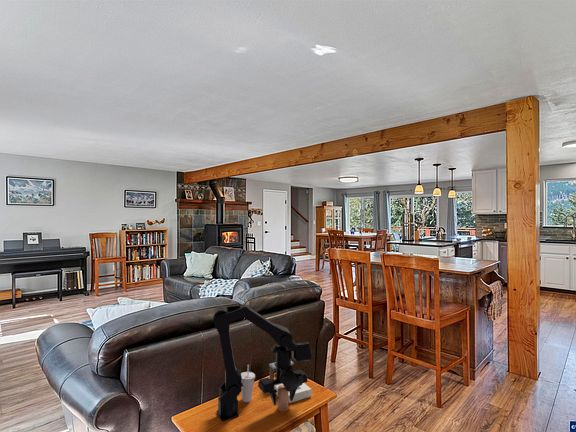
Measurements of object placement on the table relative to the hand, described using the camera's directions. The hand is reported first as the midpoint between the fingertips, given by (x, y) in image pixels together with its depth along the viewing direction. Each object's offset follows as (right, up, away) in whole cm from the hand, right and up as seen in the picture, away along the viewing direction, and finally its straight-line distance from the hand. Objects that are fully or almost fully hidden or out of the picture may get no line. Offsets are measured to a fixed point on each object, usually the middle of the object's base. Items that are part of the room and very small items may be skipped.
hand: (283, 403), depth 127 cm
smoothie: (-14, -2, +6) cm, 16 cm away
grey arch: (-1, -2, +19) cm, 19 cm away
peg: (0, -2, 0) cm, 2 cm away
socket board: (+4, -2, +10) cm, 11 cm away
